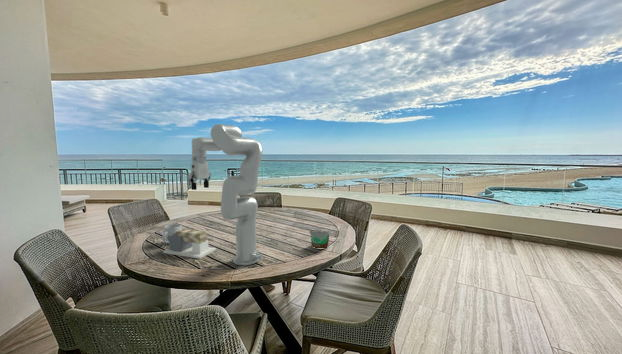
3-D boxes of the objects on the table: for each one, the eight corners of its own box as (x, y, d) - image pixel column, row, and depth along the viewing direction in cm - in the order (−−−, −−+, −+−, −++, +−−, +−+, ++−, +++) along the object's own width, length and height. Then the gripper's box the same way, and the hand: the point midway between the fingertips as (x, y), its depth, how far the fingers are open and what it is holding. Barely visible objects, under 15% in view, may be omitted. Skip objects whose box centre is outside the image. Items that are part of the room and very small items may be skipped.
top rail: (206, 241, 124) (205, 232, 124) (200, 243, 121) (200, 234, 120) (182, 237, 129) (182, 229, 129) (176, 240, 125) (176, 231, 125)
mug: (171, 239, 144) (171, 223, 143) (185, 240, 143) (184, 224, 142) (156, 247, 132) (155, 229, 131) (170, 247, 131) (170, 230, 130)
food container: (306, 249, 129) (306, 231, 129) (309, 245, 135) (309, 228, 134) (328, 251, 126) (329, 233, 126) (330, 247, 132) (330, 230, 132)
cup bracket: (216, 249, 128) (215, 233, 127) (199, 258, 116) (199, 241, 116) (182, 244, 135) (181, 229, 134) (163, 252, 124) (162, 236, 123)
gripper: (192, 159, 127) (194, 190, 129) (214, 159, 144) (215, 187, 145) (182, 159, 130) (183, 190, 131) (205, 159, 146) (205, 186, 147)
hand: (200, 188), depth 138 cm, fingers open, 9 cm apart
